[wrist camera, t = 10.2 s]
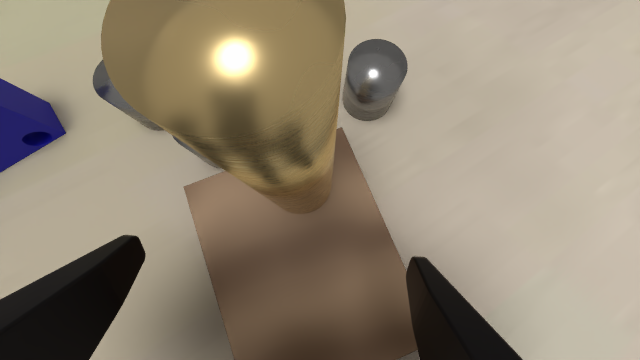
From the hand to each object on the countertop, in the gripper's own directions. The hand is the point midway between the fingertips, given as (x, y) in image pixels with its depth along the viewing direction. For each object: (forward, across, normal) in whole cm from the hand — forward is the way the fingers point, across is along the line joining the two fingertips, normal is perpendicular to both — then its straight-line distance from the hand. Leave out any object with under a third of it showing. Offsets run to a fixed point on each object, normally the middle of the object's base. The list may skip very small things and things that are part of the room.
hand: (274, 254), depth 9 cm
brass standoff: (+8, 0, +2) cm, 9 cm away
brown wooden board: (+6, 0, +7) cm, 9 cm away
